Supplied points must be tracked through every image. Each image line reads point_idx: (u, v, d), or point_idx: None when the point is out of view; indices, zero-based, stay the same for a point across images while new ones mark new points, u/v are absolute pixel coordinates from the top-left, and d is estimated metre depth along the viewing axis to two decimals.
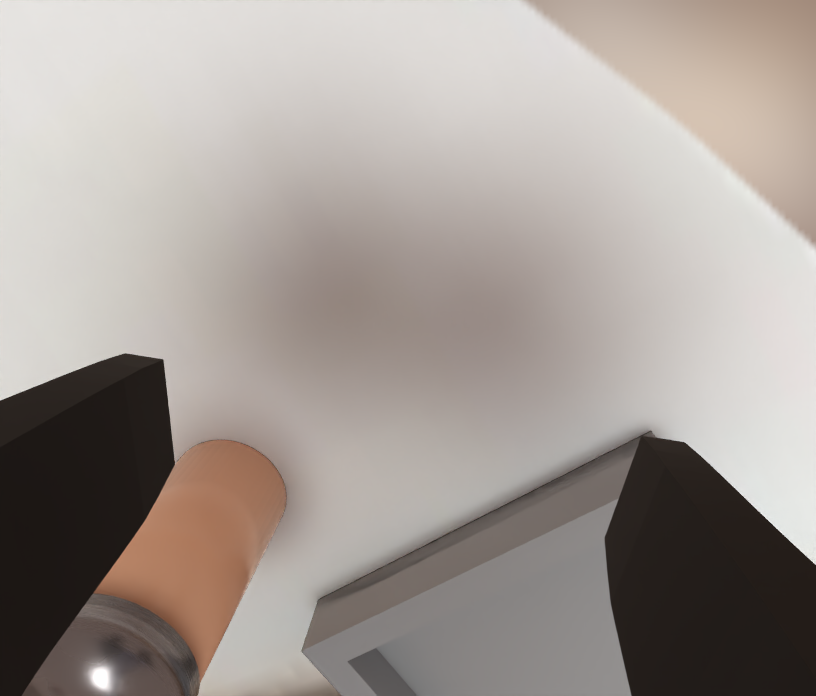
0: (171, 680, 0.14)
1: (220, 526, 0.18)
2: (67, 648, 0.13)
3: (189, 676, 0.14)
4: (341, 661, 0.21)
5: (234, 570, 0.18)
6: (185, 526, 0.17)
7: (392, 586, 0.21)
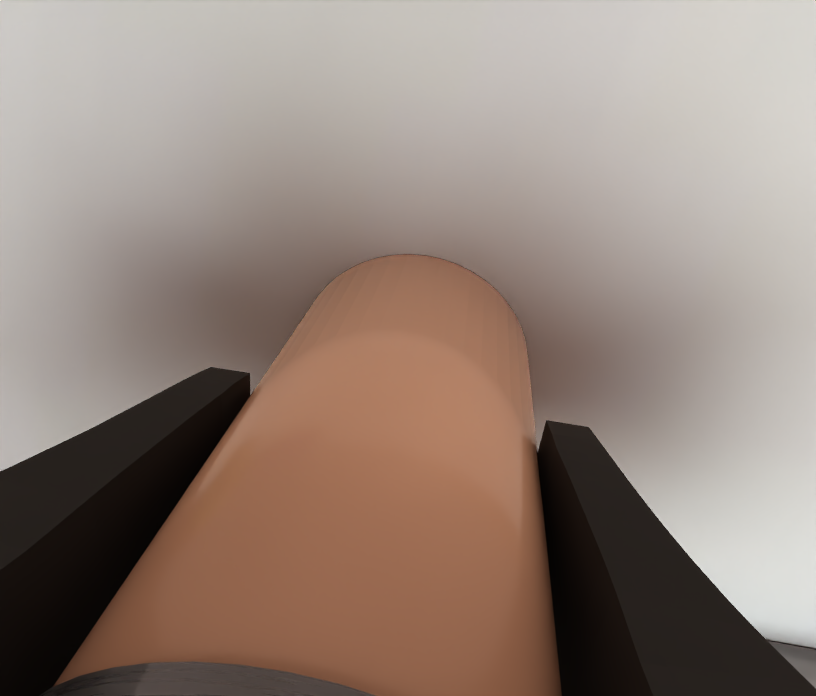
0: None
1: None
2: None
3: None
4: None
5: None
6: (533, 505, 0.07)
7: None
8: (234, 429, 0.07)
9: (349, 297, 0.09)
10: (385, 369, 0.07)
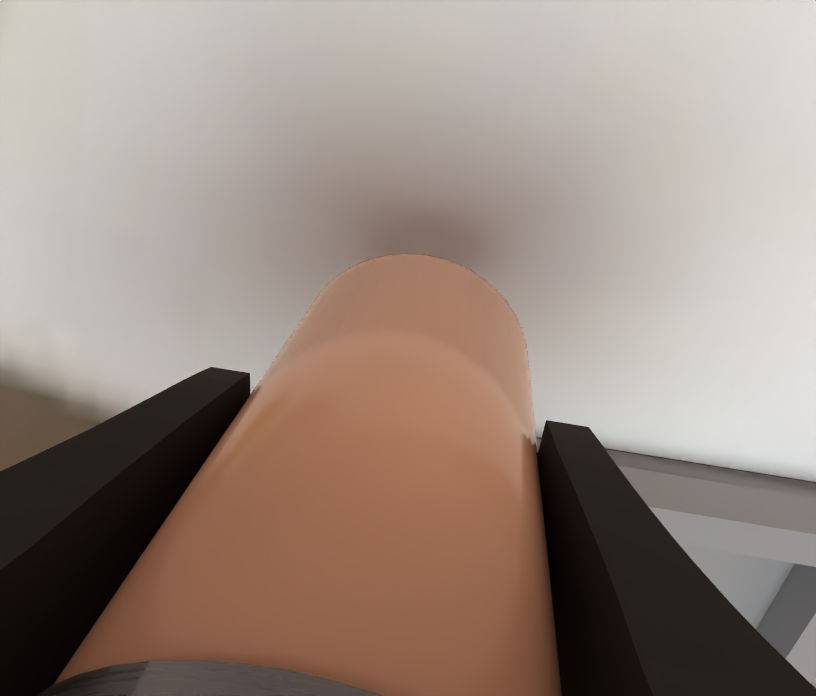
0: None
1: None
2: None
3: None
4: None
5: None
6: (532, 505, 0.07)
7: None
8: (234, 428, 0.07)
9: (349, 295, 0.09)
10: (386, 368, 0.07)
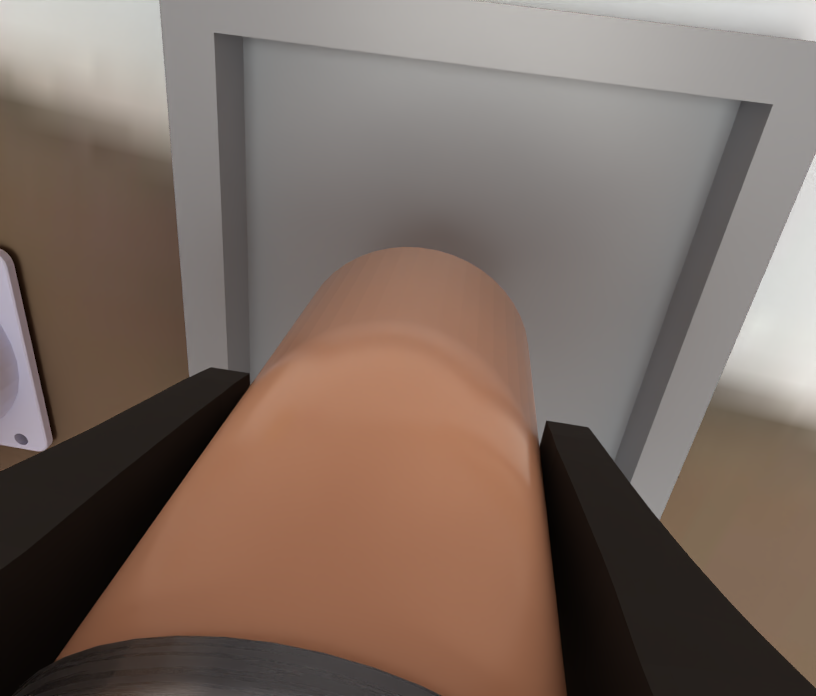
0: None
1: (545, 502, 0.07)
2: None
3: None
4: (204, 26, 0.13)
5: None
6: (531, 486, 0.06)
7: None
8: (229, 420, 0.07)
9: (345, 289, 0.09)
10: (379, 355, 0.07)
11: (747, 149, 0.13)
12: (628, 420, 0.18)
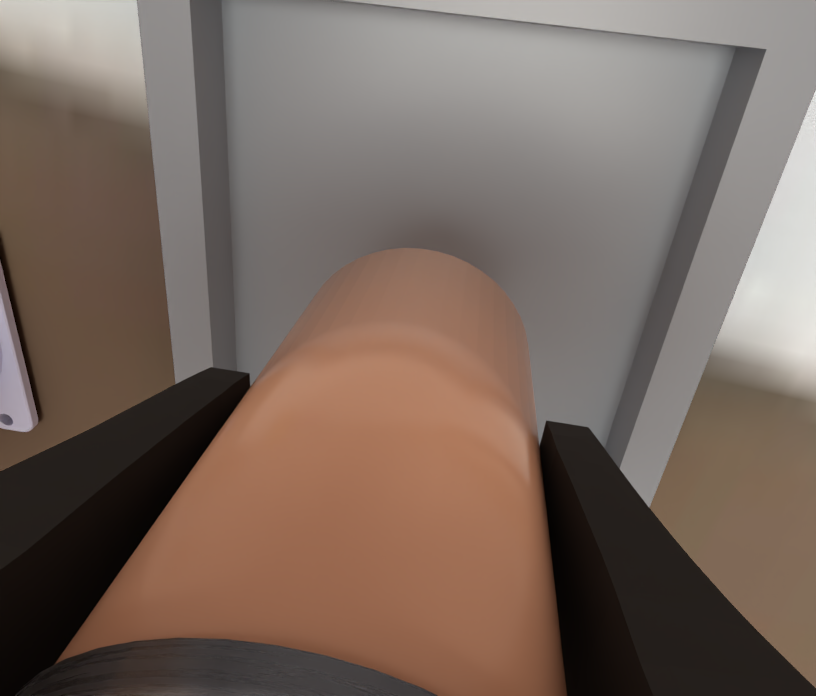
0: None
1: None
2: None
3: None
4: None
5: None
6: (532, 488, 0.06)
7: None
8: (229, 421, 0.07)
9: (345, 290, 0.09)
10: (379, 356, 0.07)
11: (740, 99, 0.13)
12: (622, 391, 0.18)
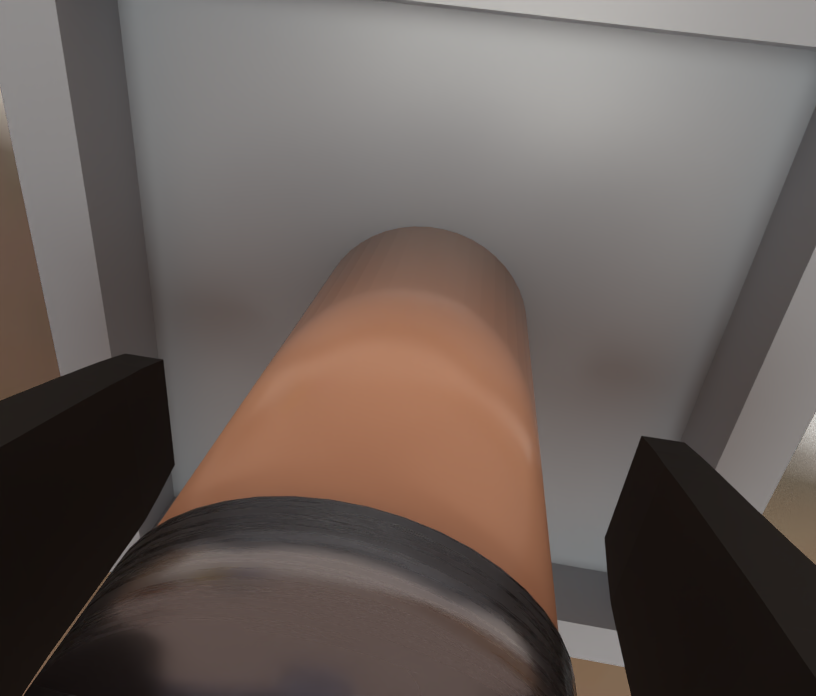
0: None
1: None
2: None
3: None
4: None
5: None
6: (526, 421, 0.08)
7: None
8: (270, 367, 0.08)
9: (363, 262, 0.10)
10: (396, 312, 0.08)
11: None
12: None
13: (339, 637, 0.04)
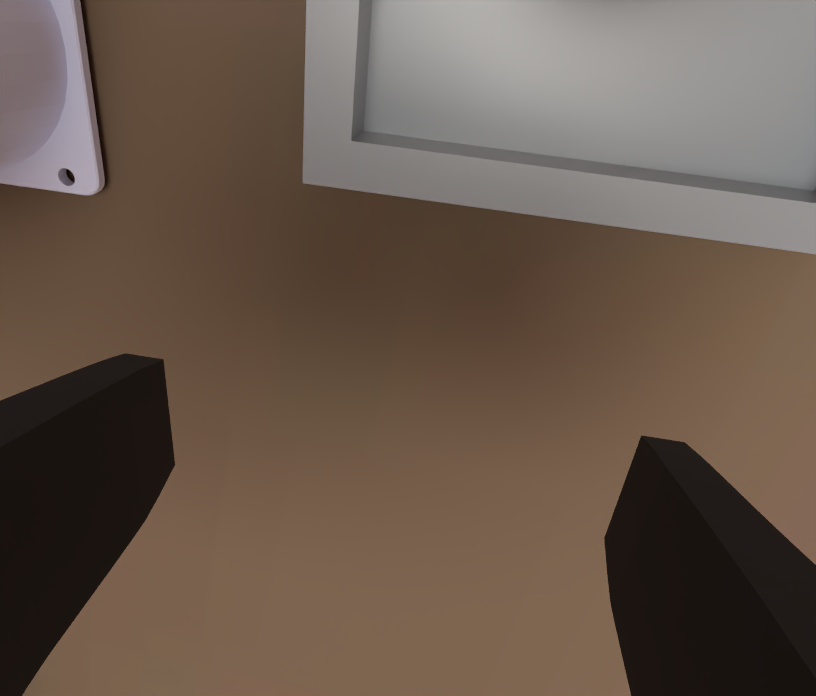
0: None
1: None
2: None
3: None
4: None
5: None
6: None
7: None
8: None
9: None
10: None
11: None
12: None
13: None
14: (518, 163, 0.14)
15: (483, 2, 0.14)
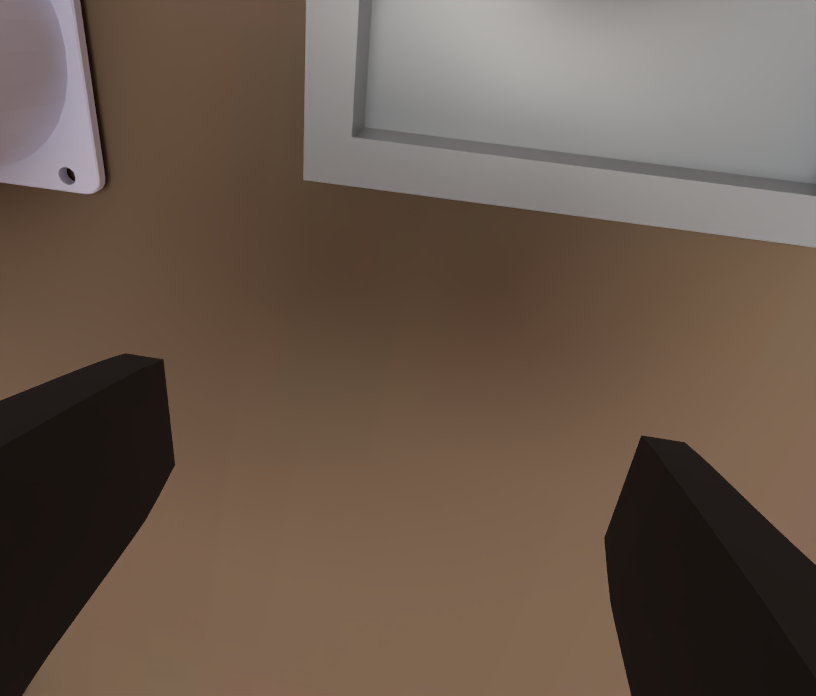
0: None
1: None
2: None
3: None
4: None
5: None
6: None
7: None
8: None
9: None
10: None
11: None
12: None
13: None
14: (519, 158, 0.14)
15: None
